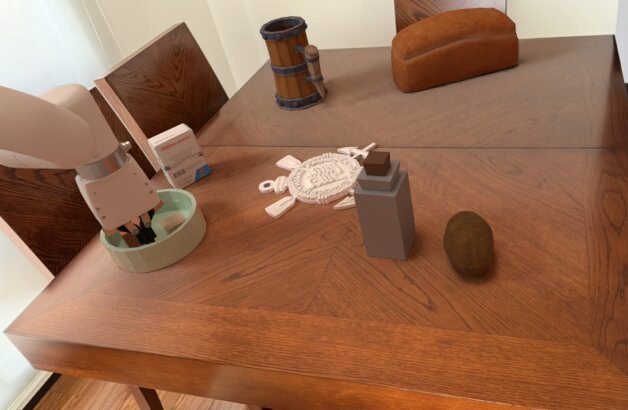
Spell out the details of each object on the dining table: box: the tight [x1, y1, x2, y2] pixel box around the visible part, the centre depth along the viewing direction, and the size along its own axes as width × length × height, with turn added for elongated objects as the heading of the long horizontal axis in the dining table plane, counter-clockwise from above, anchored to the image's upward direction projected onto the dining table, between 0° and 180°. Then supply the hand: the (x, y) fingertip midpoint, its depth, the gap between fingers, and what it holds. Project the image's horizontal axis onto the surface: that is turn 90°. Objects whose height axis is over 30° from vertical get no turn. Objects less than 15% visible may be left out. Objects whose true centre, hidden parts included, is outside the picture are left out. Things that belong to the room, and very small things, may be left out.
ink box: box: [146, 123, 212, 190], centre depth 109 cm, size 9×5×12 cm, turn 130°
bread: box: [390, 7, 520, 93], centre depth 129 cm, size 14×33×16 cm, turn 104°
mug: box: [259, 15, 329, 112], centre depth 128 cm, size 19×14×20 cm
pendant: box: [258, 142, 377, 220], centre depth 104 cm, size 21×28×1 cm
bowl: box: [99, 188, 208, 274], centre depth 95 cm, size 18×18×6 cm
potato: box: [442, 210, 495, 277], centre depth 79 cm, size 8×12×8 cm, turn 8°
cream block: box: [160, 211, 186, 236], centre depth 94 cm, size 4×4×4 cm
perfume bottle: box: [352, 150, 417, 261], centre depth 81 cm, size 7×7×18 cm
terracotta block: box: [119, 217, 141, 248], centre depth 95 cm, size 4×4×4 cm
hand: (150, 243), depth 92 cm, fingers closed
